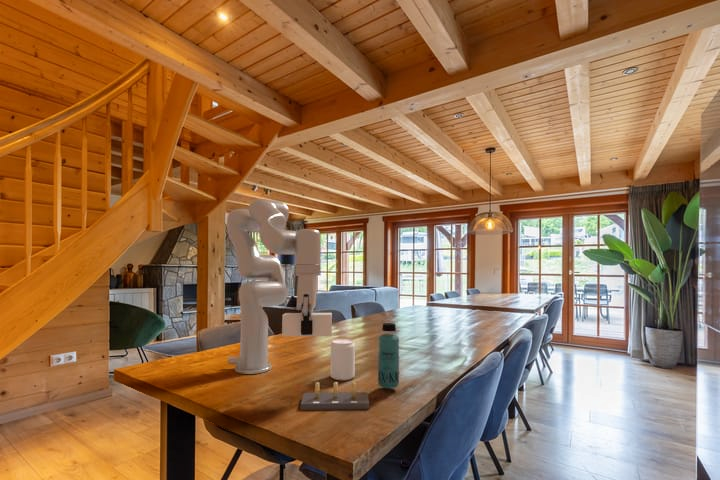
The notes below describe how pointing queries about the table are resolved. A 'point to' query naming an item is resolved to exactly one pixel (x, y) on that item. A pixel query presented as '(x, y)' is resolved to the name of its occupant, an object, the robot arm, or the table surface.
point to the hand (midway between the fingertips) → (307, 332)
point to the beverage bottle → (388, 358)
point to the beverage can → (342, 359)
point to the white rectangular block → (319, 324)
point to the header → (335, 399)
